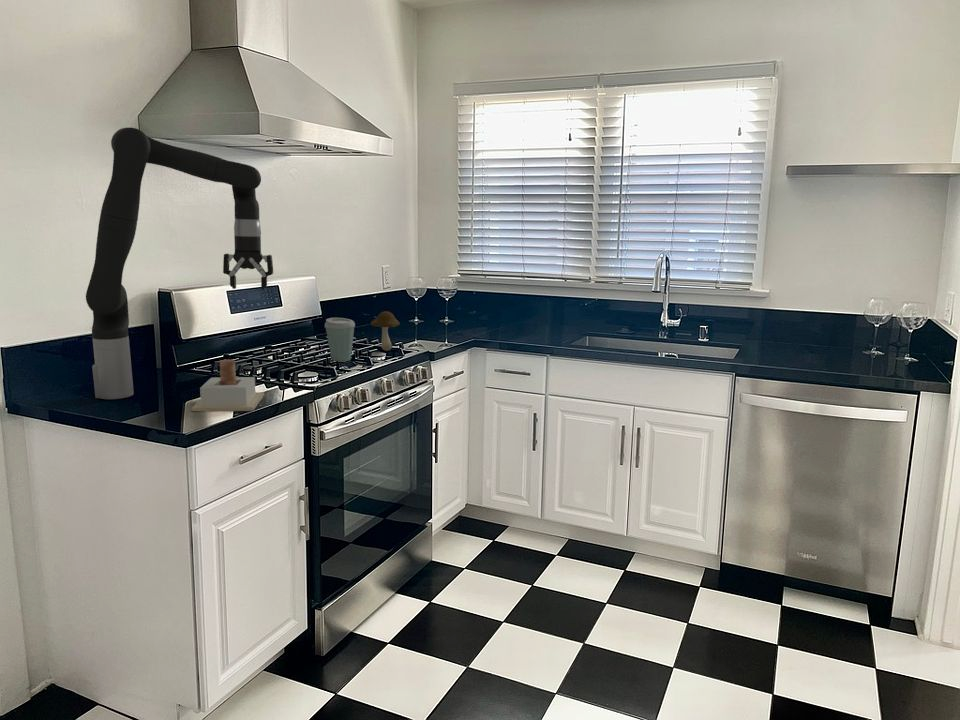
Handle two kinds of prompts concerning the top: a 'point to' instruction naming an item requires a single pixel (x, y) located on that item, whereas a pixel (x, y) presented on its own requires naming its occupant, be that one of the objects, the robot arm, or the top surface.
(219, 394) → the socket block
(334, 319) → the disposable coffee cup
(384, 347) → the mushroom
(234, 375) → the peg
